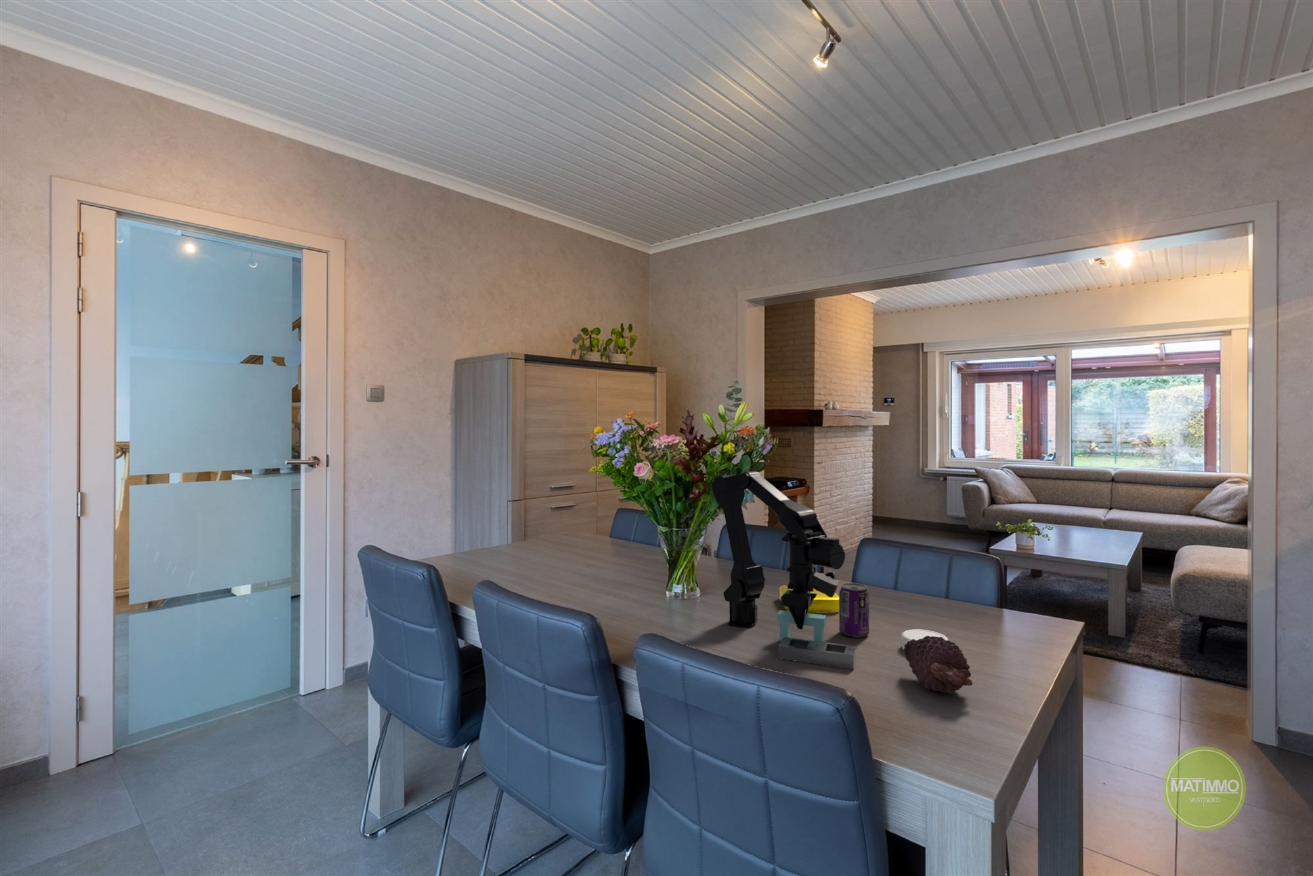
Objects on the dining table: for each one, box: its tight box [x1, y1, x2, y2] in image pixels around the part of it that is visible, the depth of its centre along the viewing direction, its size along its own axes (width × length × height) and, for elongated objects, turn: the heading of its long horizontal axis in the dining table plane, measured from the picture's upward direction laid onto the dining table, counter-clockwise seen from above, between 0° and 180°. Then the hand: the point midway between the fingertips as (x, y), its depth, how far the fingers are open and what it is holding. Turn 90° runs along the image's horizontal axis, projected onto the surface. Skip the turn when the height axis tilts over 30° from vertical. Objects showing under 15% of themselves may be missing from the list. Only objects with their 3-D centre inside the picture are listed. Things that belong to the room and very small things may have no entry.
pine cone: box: [903, 636, 973, 695], centre depth 119 cm, size 18×10×10 cm, turn 12°
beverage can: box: [838, 582, 870, 638], centre depth 150 cm, size 7×7×12 cm
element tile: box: [779, 584, 839, 614], centre depth 175 cm, size 15×15×5 cm
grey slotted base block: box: [777, 637, 857, 671], centre depth 134 cm, size 16×6×3 cm, turn 67°
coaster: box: [900, 628, 950, 651], centre depth 139 cm, size 10×10×4 cm
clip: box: [776, 609, 827, 642], centre depth 144 cm, size 11×3×6 cm, turn 67°
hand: (801, 626), depth 144 cm, fingers closed on clip, 3 cm apart
